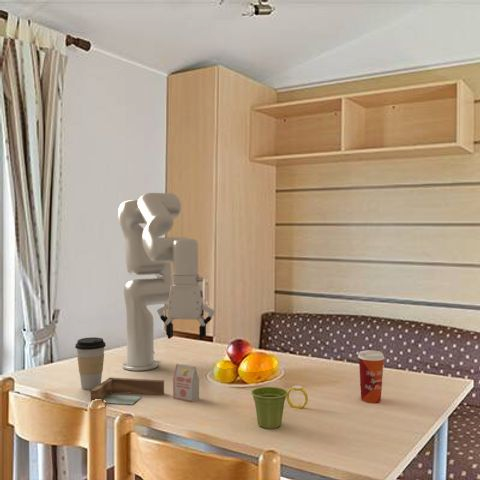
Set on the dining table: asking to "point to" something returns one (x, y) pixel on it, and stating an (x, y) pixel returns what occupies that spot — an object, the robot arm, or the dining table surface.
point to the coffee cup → (90, 361)
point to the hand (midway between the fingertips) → (186, 338)
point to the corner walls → (126, 389)
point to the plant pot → (269, 406)
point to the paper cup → (371, 375)
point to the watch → (297, 388)
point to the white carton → (186, 383)
